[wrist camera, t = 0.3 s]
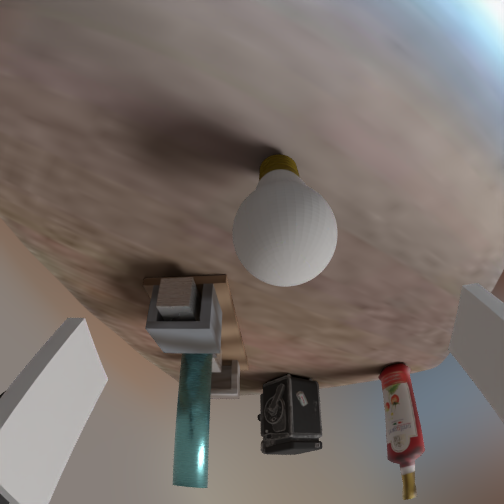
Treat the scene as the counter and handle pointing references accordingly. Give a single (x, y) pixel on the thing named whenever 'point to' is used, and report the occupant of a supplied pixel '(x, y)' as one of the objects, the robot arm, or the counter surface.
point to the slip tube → (190, 386)
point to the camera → (290, 416)
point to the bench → (227, 317)
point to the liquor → (402, 424)
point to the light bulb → (284, 227)
